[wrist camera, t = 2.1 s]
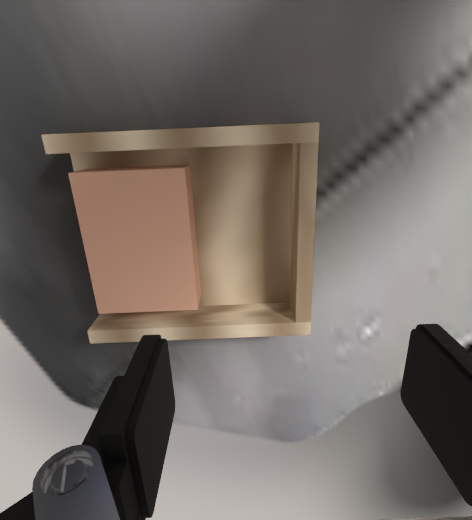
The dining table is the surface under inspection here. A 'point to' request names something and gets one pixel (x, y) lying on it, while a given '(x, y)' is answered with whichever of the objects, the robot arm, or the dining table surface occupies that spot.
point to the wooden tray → (225, 225)
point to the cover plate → (139, 237)
